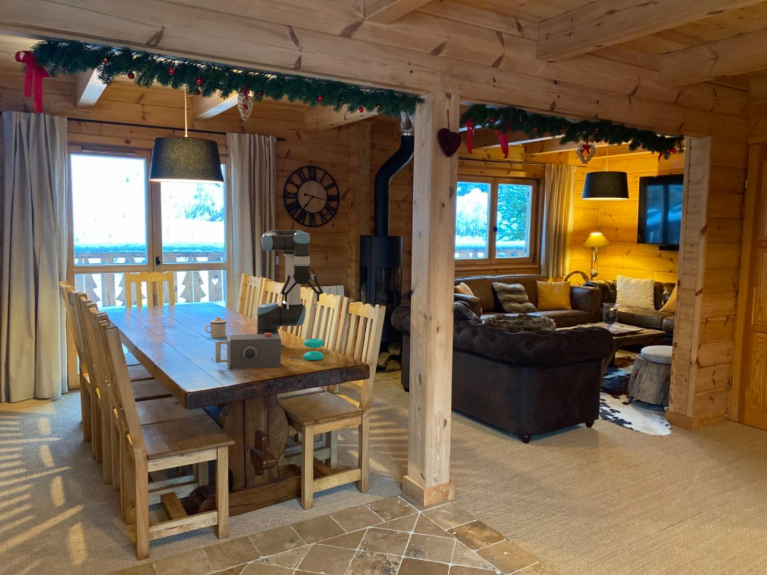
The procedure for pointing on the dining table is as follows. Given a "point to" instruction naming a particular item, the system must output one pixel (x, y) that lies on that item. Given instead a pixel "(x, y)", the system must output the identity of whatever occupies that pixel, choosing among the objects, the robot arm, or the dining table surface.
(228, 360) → the side door
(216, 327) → the teacup with lid
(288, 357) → the dining table surface
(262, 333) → the robot arm
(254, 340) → the camera body
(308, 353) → the donuts
